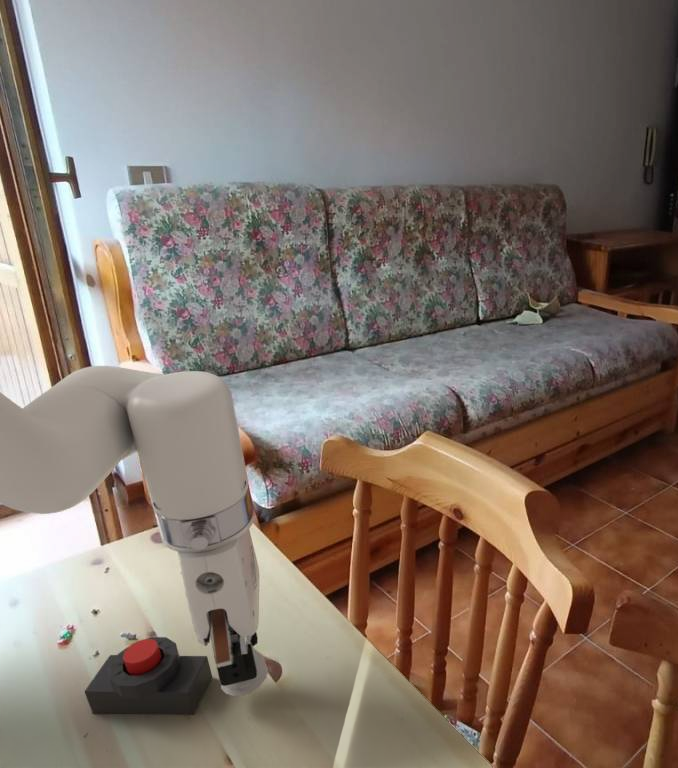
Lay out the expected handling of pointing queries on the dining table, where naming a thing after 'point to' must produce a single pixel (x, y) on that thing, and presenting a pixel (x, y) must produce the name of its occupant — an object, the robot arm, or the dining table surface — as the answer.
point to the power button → (142, 657)
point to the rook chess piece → (252, 684)
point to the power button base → (151, 684)
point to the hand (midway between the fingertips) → (240, 661)
